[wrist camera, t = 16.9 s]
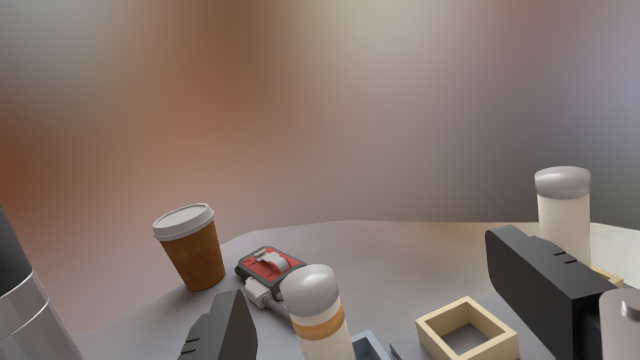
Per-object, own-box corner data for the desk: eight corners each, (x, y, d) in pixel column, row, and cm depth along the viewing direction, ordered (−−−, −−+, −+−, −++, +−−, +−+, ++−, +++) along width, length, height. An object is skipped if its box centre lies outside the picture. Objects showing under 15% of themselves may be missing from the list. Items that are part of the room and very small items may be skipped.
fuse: (571, 317, 32) (565, 186, 29) (533, 294, 36) (524, 176, 32) (603, 300, 33) (602, 171, 29) (563, 280, 37) (557, 163, 33)
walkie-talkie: (225, 283, 56) (293, 338, 41) (216, 259, 55) (283, 307, 39) (271, 256, 61) (348, 297, 45) (263, 234, 60) (340, 268, 44)
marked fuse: (333, 445, 27) (286, 306, 23) (318, 403, 31) (275, 277, 27) (379, 421, 28) (342, 283, 24) (359, 382, 31) (323, 258, 28)
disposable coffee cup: (165, 299, 56) (135, 232, 52) (199, 265, 64) (175, 205, 61) (215, 297, 53) (187, 225, 49) (244, 261, 61) (222, 198, 58)
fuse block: (448, 428, 27) (441, 393, 26) (390, 350, 35) (384, 321, 34) (661, 308, 32) (662, 276, 31) (566, 265, 40) (565, 238, 39)
